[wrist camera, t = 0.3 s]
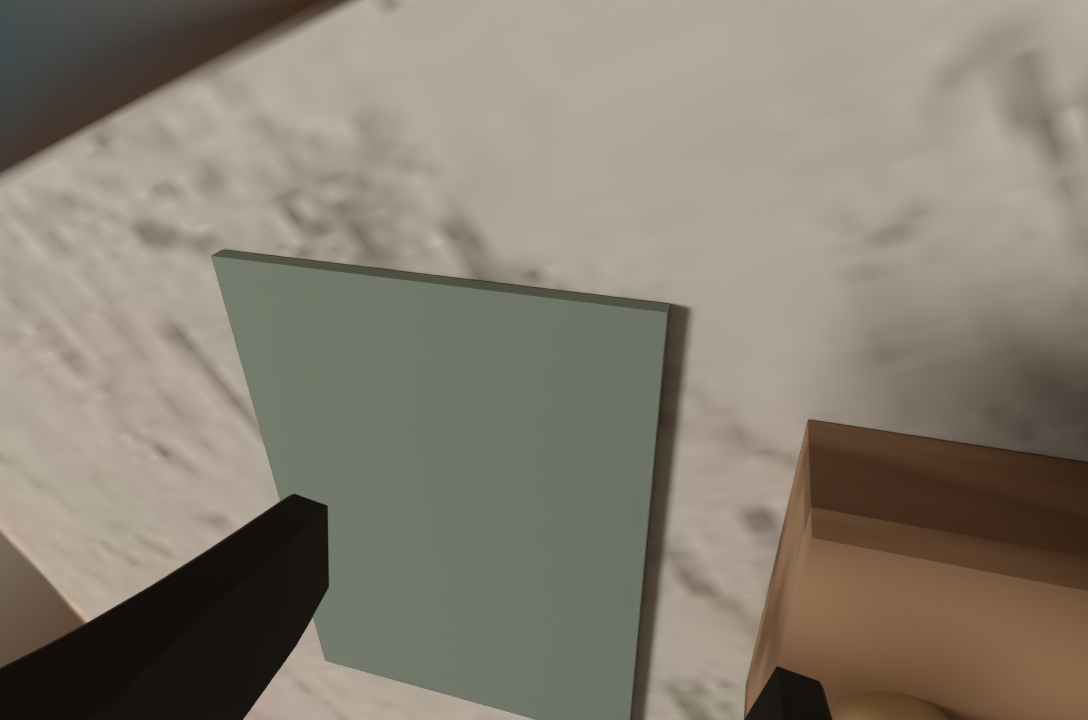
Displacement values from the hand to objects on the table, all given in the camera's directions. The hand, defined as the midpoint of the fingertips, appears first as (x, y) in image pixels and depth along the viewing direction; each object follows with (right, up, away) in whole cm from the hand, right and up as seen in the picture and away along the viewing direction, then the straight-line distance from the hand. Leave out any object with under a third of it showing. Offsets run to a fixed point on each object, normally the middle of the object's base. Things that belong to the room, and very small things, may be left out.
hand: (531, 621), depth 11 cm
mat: (-3, -2, +15) cm, 15 cm away
